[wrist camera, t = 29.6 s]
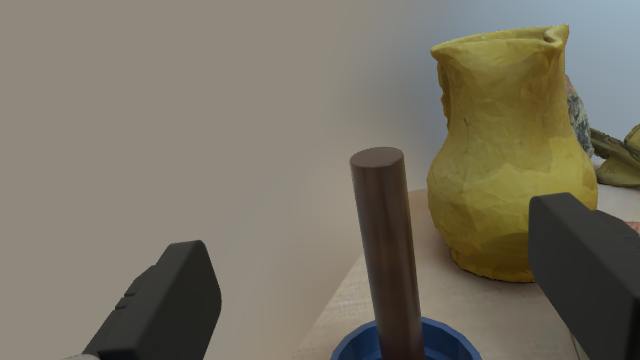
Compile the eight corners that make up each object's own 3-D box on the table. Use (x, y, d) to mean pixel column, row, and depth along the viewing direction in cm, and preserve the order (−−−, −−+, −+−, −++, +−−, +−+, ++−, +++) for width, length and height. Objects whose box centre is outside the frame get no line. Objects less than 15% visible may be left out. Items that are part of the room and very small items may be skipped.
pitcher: (424, 292, 45) (411, 51, 36) (434, 213, 61) (427, 34, 52) (612, 306, 39) (652, 24, 30) (568, 216, 55) (585, 15, 46)
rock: (571, 96, 65) (502, 111, 69) (591, 44, 50) (501, 67, 54) (593, 185, 62) (519, 196, 65) (622, 158, 46) (524, 174, 50)
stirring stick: (404, 449, 30) (361, 172, 21) (386, 414, 33) (341, 155, 24) (440, 432, 31) (413, 156, 22) (419, 400, 33) (388, 142, 25)
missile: (583, 149, 71) (586, 106, 68) (737, 213, 48) (752, 153, 45) (546, 157, 70) (547, 115, 68) (684, 226, 48) (695, 167, 45)
